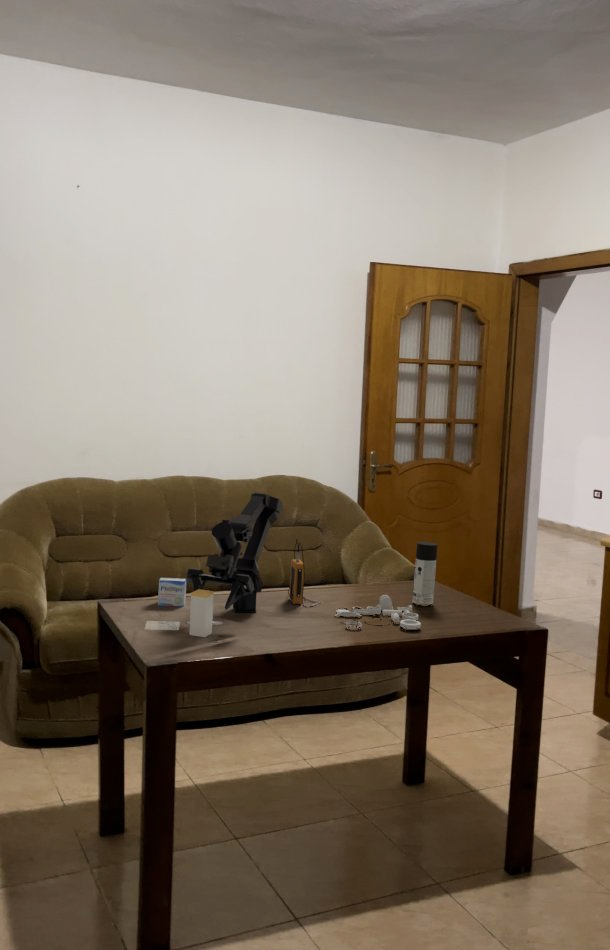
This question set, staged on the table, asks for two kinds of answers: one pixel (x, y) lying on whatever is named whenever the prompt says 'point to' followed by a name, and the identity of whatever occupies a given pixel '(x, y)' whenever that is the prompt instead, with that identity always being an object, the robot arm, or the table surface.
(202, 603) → the block
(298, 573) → the multimeter
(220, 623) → the rod
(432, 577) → the spray can
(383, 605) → the robot parts
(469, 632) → the table surface
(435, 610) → the table surface
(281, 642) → the table surface
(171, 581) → the medicine box
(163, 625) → the case base
